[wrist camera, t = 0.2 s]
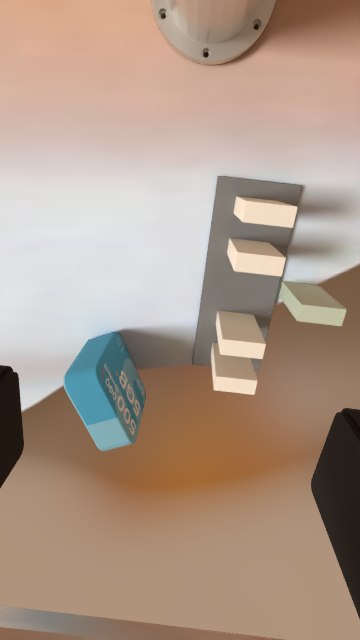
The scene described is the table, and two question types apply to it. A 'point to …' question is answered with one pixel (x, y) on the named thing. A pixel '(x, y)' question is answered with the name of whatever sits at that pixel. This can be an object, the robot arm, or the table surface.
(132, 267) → the table surface
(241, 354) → the domino
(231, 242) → the domino
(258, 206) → the domino
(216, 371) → the domino
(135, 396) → the data package
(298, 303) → the domino
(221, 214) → the domino mat
